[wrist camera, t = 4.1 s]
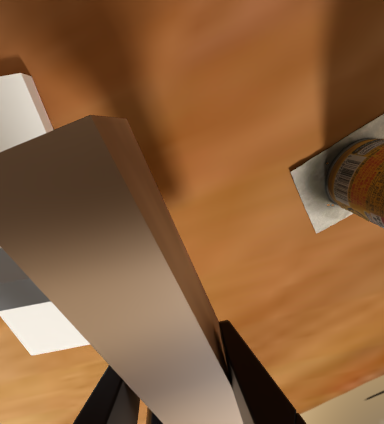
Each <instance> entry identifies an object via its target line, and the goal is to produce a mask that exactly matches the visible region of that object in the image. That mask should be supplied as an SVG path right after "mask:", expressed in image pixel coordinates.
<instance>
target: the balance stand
mask: <svg viewBox="0 0 384 424" xmlns="http://www.w3.org/2000/svg"><path fill="white" fill-rule="evenodd" d="M50 131H53V127H52V125H51V123H50V120H49V118H48V115H47V113H46V110H45V108H44V106H43V103H42V101H41V98H40V96H39V93H38V91H37V89H36V86H35V84H34V81H33V79H32V76H29V75H26V74H23V73H17V74H12V75H6V76H0V152H2V151H4V150H7V149H9V148H12V147H14V146H16V145H19V144H21V143H24V142H26V141H28V140H31V139H33V138H36V137H38V136H41V135H43V134H45V133H48V132H50ZM0 316H1V317H2V319H3V320H4V321H5V323H6V324H7V325H8V326H9V328H10V329H11V330H12V331H13V333H14V334H15V335H16V337H17V338H18V339H19V340H20V342H21V343H22V344H23V345H24V347H25V348H26V349H27V350H28V352H29V353H30V354H31V356H32V355H37V354H43V353H48V352H53V351H58V350H63V349H68V348H73V347H79V346H84V345H89V344H90V343H89V342H88V341H87V340H86V339H85V338H84V337H83V336H82V335H81V334H80V332H79V331H78V330H77V329H76V328H75V327H74V326H73V325H72V324H71V323H70V322H69V320H68V319H67V318H66V317H65V316H64V315H63V314H62V313H61V312H60V311H59V310H58V308H57V307H56V306H55V305H54V304H53V303H52V302H51V301H50V300H49V299H48V298H47V297H46V295H45V294H44V293H43V292H42V291H41V290H40V289H39V288H38V287H37V286H36V285H35V283H34V282H33V281H32V280H31V279H30V278H29V277H28V276H27V275H26V274H25V273H24V271H23V270H22V269H21V268H20V267H19V266H18V265H17V264H16V263H15V262H14V261H13V259H12V258H11V257H10V256H9V255H8V254H7V253H6V252H5V251H4V250H3V249H2V248H1V246H0Z"/></svg>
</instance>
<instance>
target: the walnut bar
mask: <svg viewBox="0 0 384 424" xmlns="http://www.w3.org/2000/svg"><path fill="white" fill-rule="evenodd" d="M0 246H1V248H2V249H3V250H4V251H5V252H6V253H7V254H8V255H9V256H10V257H11V258H12V259H13V261H14V262H15V263H16V264H17V265H18V266H19V267H20V268H21V269H22V270H23V271H24V273H25V274H26V275H27V276H28V277H29V278H30V279H31V280H32V281H33V282H34V283H35V285H36V286H37V287H38V288H39V289H40V290H41V291H42V292H43V293H44V294H45V295H46V297H47V298H48V299H49V300H50V301H51V302H52V303H53V304H54V305H55V306H56V307H57V308H58V310H59V311H60V312H61V313H62V314H63V315H64V316H65V317H66V318H67V319H68V320H69V322H70V323H71V324H72V325H73V326H74V327H75V328H76V329H77V330H78V331H79V332H80V334H81V335H82V336H83V337H84V338H85V339H86V340H87V341H88V342H89V343H90V344H91V346H92V347H93V348H94V349H95V350H96V351H97V352H98V353H99V354H100V355H101V356H102V357H103V359H104V360H105V361H106V362H107V363H108V364H109V365H110V366H111V367H112V368H113V369H114V371H115V372H116V373H117V374H118V375H119V376H120V377H121V378H122V379H123V380H124V381H125V383H126V384H127V385H128V386H129V387H130V388H131V389H132V390H133V391H134V392H135V393H136V395H137V396H138V397H139V398H140V399H141V400H142V401H143V402H144V403H145V404H146V405H147V406H148V408H149V409H150V410H151V411H152V412H153V413H154V414H155V415H156V416H157V417H158V418H159V420H160V421H161V422H162V423H163V424H243V421H242V418H241V415H240V412H239V408H238V405H237V402H236V399H235V396H234V393H233V389H232V385H231V381H230V377H229V373H228V368H227V364H226V359H225V354H224V350H223V345H222V340H221V335H220V329H219V321H218V319H217V317H216V315H215V312H214V310H213V308H212V306H211V304H210V301H209V299H208V297H207V295H206V293H205V290H204V288H203V286H202V284H201V282H200V279H199V277H198V275H197V273H196V271H195V268H194V266H193V264H192V262H191V260H190V257H189V255H188V253H187V251H186V249H185V246H184V244H183V242H182V240H181V238H180V235H179V233H178V231H177V229H176V227H175V224H174V222H173V220H172V218H171V216H170V213H169V211H168V209H167V207H166V205H165V202H164V200H163V198H162V196H161V194H160V191H159V189H158V187H157V185H156V182H155V180H154V178H153V176H152V174H151V171H150V169H149V167H148V165H147V163H146V160H145V158H144V156H143V154H142V152H141V149H140V147H139V145H138V143H137V141H136V138H135V136H134V134H133V132H132V130H131V127H130V125H129V123H128V121H127V119H125V118H115V117H105V116H95V115H89V116H86V117H84V118H82V119H79V120H77V121H74V122H72V123H70V124H67V125H65V126H62V127H60V128H57V129H55V130H53V131H50V132H48V133H45V134H43V135H41V136H38V137H36V138H33V139H31V140H28V141H26V142H24V143H21V144H19V145H16V146H14V147H12V148H9V149H7V150H4V151H2V152H0Z"/></svg>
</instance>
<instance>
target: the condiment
mask: <svg viewBox="0 0 384 424" xmlns="http://www.w3.org/2000/svg"><path fill="white" fill-rule="evenodd" d="M327 162H328V164H326V163H327ZM291 175H292V177H293V179H294V183H295V185H296V188H297V190H298V192H299V195H300V197H301V200H302V202H303V204H304V206H305V209H306V211H307V213H308V215H309V218H310V220H311V223H312V225H313V227H314V229H315V231H316V234H317V233H319V232H320V231H323V230H325V229H326V228H328V227H329V226H331V225H334V224H336V223H338V222H339V221H340V220H342V219H344V218H346V217H348V216H349V215H351V214H353V213H354V214H356V215H358V216H360V217H362V218H364V219H365V220H367V221H370V222H372V223H374V224H376V225H379V226H380V227H382V228H384V114H383V115H381V116H380V117H378V118H376V119H375V120H373V121H371V122H370V123H368V124H366V125H365V126H363V127H362V128H360V129H358V130H356V131H355V132H353V133H351V134H350V135H349V136H347V137H345V138H343V139H342V140H341V141H339V142H338V143H336V144H334V145H333V146H332V147H330V148H329V149H327V150H325V151H323V152H322V153H320V154H318V155H317V156H315V157H313V158H312V159H310V160H309V161H307V162H306V163H304V164H303V165H302V166H300V167H298V168H296V169H295V170H293V171H291ZM327 204H330V206H327ZM332 204H334V206H331V205H332Z"/></svg>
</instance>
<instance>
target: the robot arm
mask: <svg viewBox="0 0 384 424" xmlns="http://www.w3.org/2000/svg"><path fill="white" fill-rule="evenodd" d="M219 329H220V335H221V340H222V345H223V350H224V354H225V359H226V364H227V368H228V373H229V377H230V381H231V385H232V389H233V393H234V396H235V399H236V402H237V405H238V408H239V412H240V415H241V418H242V421H243V424H306V422H305V421H304V420H303V418H302V417H301V416H300V414H299V413H296V409H295V408H294V407H293V405H292V404H291V403H290V401H289V400H288V399H287V397H286V396H285V395H284V393H283V392H282V391H281V389H280V388H279V387H278V385H277V384H276V383H275V381H274V380H273V379H272V377H271V376H270V375H269V373H268V372H267V371H266V369H265V368H264V367H263V365H262V364H261V363H260V361H259V360H258V359H257V357H256V356H255V355H254V353H253V352H252V351H251V349H250V348H249V347H248V345H247V344H246V343H245V341H244V340H243V339H242V337H241V336H240V335H239V333H238V332H237V331H236V329H235V328H234V327H233V325H232V324H231V323H230V321H228V320H224V321H220V322H219ZM139 404H140V398H139V397H138V396H137V395H136V393H135V392H134V391H133V390H132V389H131V388H130V387H129V386H128V385H127V384H126V383H125V381H124V380H123V379H122V378H121V377H120V376H119V375H118V374H117V373H116V372H115V371H114V369H113V368H112V367H111V366H110V365H109V366H108V368H107V369H106V371H105V373H104V374H103V376H102V377H101V379H100V381H99V382H98V384H97V386H96V387H95V389H94V390H93V392H92V394H91V395H90V397H89V398H88V400H87V402H86V403H85V405H84V407H83V408H82V410H81V411H80V413H79V415H78V416H77V418H76V419H75V421H74V423H73V424H137V421H138V413H139ZM146 424H163V423H162V422H161V421H160V420H159V418H158V417H157V416H156V415H155V414H154V413H153V412H152V411H151V410H150V409H149V408H147V419H146Z"/></svg>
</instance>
